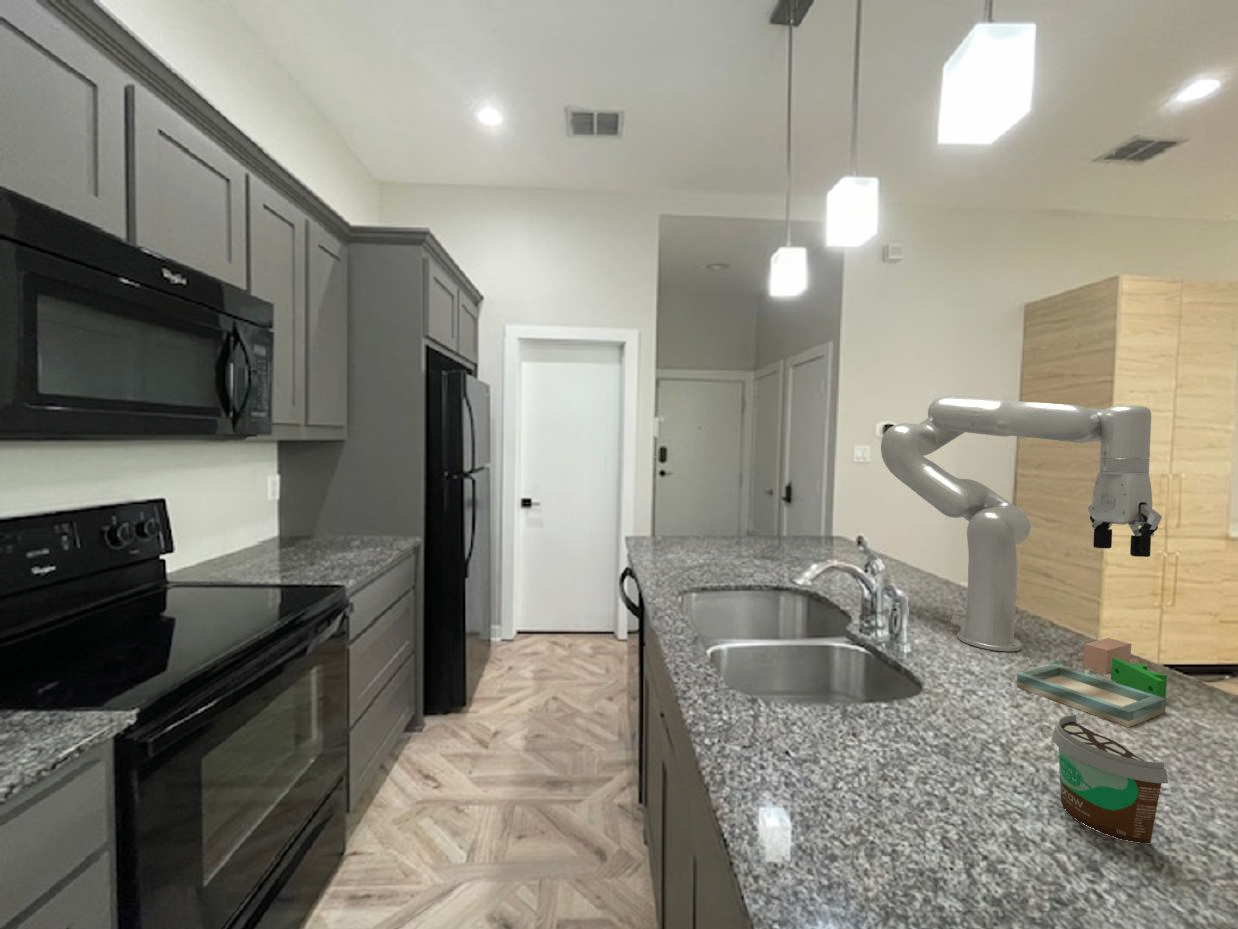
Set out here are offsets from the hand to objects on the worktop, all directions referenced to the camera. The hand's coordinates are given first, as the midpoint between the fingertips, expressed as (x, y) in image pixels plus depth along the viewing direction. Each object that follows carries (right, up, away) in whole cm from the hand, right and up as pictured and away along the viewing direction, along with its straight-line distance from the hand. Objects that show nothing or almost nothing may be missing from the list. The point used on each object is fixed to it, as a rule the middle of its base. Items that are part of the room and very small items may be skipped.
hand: (1120, 552), depth 115 cm
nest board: (-16, -25, -12) cm, 32 cm away
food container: (-44, -26, -46) cm, 69 cm away
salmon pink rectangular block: (+1, -25, +5) cm, 26 cm away
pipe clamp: (-3, -26, -8) cm, 27 cm away
